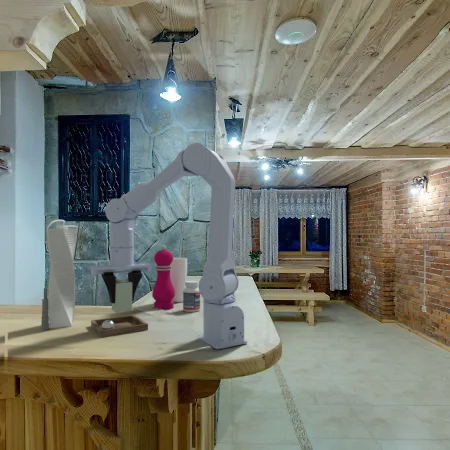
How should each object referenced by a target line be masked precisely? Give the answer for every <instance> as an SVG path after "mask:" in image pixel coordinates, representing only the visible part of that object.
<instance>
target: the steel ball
mask: <svg viewBox="0 0 450 450" xmlns="http://www.w3.org/2000/svg"><path fill="white" fill-rule="evenodd" d="M113 328H115V324H114V322H113V321H111V320H106V321H105V322H103V324H102V329H103V330H106V329H113Z"/></svg>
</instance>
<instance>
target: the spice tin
mask: <svg viewBox="0 0 450 450" xmlns="http://www.w3.org/2000/svg"><path fill="white" fill-rule="evenodd" d="M111 310H112V311H113V312H115V313H123V312H130V311H131V312H133V301H132V282H130V281H129V279H128V278H116V283H115V303H111Z"/></svg>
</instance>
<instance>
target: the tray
mask: <svg viewBox="0 0 450 450" xmlns="http://www.w3.org/2000/svg"><path fill="white" fill-rule="evenodd" d="M106 320H111V321H113V322H114V324H115V328H113V329H106V330H103V329H102V324H103V322H105V321H106ZM90 327H91V328H92V329H93V330H94V331H95V332H96V334H97V335H98V336H99V337H100V338H106V337H112V336H113V337H114V336H119V335H125V334H132V333H139V332H144V331H148V330H149V323H147V322H146V321H144V320H143V319H141V318H139V317H138V316H136V314H131V315H130V314H129V315H122V316H114V317H108V318H107V317H106V318H100V319H92V320H91V321H90Z"/></svg>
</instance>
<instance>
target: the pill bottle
mask: <svg viewBox="0 0 450 450" xmlns="http://www.w3.org/2000/svg"><path fill="white" fill-rule="evenodd" d="M185 286H186V288H185V289H184V290H183V302H182V309H183V311H184V312H187V313H195V312H199V311H200V310H201V294H200V292H199V281H197V280H186V282H185Z"/></svg>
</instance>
